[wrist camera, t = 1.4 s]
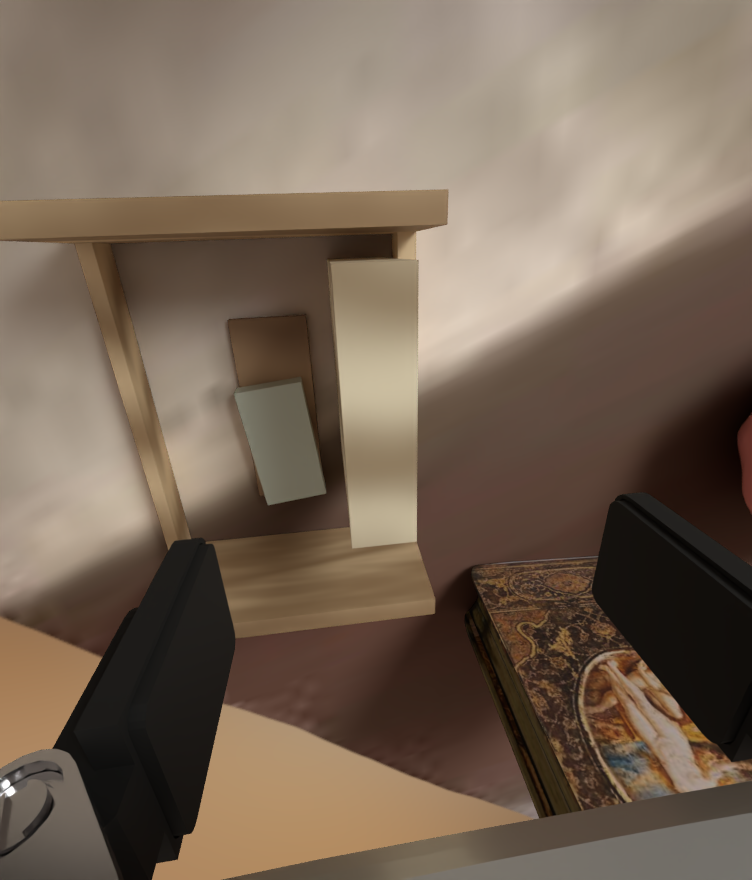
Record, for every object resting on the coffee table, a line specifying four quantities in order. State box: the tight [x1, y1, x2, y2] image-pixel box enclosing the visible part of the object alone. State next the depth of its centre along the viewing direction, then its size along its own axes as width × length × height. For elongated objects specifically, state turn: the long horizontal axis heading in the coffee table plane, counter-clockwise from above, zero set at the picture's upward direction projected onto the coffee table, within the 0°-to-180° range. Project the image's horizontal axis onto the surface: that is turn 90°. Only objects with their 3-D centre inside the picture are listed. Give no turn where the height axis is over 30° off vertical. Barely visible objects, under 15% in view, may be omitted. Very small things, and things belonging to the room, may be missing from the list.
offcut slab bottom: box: [227, 315, 322, 496], centre depth 27 cm, size 12×4×1 cm, turn 2°
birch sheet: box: [327, 257, 418, 549], centre depth 22 cm, size 12×3×11 cm, turn 2°
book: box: [465, 556, 752, 818], centre depth 25 cm, size 16×6×25 cm, turn 89°
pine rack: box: [0, 190, 448, 638], centre depth 23 cm, size 22×17×8 cm
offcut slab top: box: [234, 377, 326, 505], centre depth 27 cm, size 8×4×1 cm, turn 8°
